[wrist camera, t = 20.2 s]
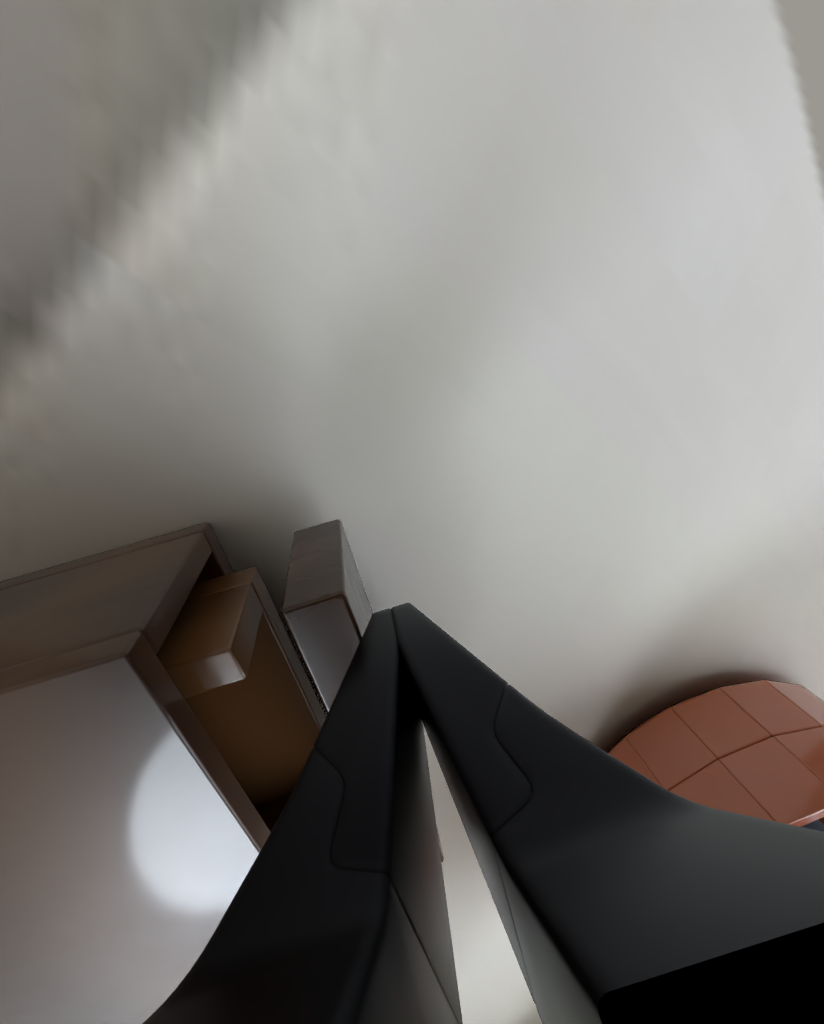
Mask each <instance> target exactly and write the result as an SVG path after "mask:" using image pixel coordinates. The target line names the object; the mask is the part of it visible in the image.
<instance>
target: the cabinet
mask: <svg viewBox="0 0 824 1024" xmlns="http://www.w3.org/2000/svg"><path fill="white" fill-rule="evenodd" d="M230 573H234V572H233V570H232V568H231V566H230V564H229V562H228V560H227V558H226V556H225V554H224V552H223V550H222V548H221V546H220V544H219V542H218V540H217V538H216V536H215V534H214V532H213V530H212V528H211V526H210V524H209V523H204V524H200V525H197V526H193V527H190V528H186V529H183V530H180V531H176V532H173V533H169V534H166V535H162V536H159V537H155V538H152V539H148V540H145V541H141V542H138V543H134V544H131V545H128V546H124V547H121V548H117V549H114V550H110V551H107V552H103V553H100V554H96V555H93V556H89V557H86V558H83V559H79V560H76V561H72V562H69V563H65V564H62V565H58V566H55V567H51V568H48V569H44V570H41V571H38V572H34V573H31V574H27V575H24V576H20V577H17V578H13V579H10V580H6V581H3V582H0V1024H142V1023H143V1022H145V1021H146V1020H147V1019H148V1018H149V1017H150V1016H151V1015H152V1014H153V1013H154V1012H155V1011H156V1010H157V1009H158V1008H159V1007H160V1006H161V1005H162V1004H163V1003H164V1002H165V1001H166V999H167V998H168V997H169V996H170V995H171V994H172V993H173V992H174V990H175V989H176V988H177V987H178V985H179V984H180V983H181V981H182V980H183V979H184V978H185V976H186V975H187V974H188V972H189V971H190V970H191V968H192V967H193V965H194V964H195V962H196V961H197V959H198V958H199V956H200V955H201V953H202V952H203V950H204V948H205V947H206V945H207V943H208V942H209V940H210V938H211V937H212V935H213V934H214V932H215V930H216V928H217V926H218V925H219V923H220V921H221V919H222V918H223V916H224V914H225V912H226V911H227V909H228V907H229V905H230V904H231V902H232V900H233V898H234V896H235V895H236V893H237V891H238V889H239V888H240V886H241V884H242V882H243V881H244V879H245V877H246V875H247V874H248V872H249V870H250V868H251V866H252V865H253V863H254V861H255V859H256V858H257V856H258V854H259V852H260V851H261V849H262V847H263V845H264V844H265V842H266V840H267V838H268V836H269V835H270V833H271V832H270V830H269V829H268V827H267V826H266V824H265V822H264V821H263V819H262V818H261V816H260V815H259V813H258V812H257V810H256V809H255V807H254V805H253V804H252V802H251V801H250V799H249V798H248V796H247V795H246V793H245V792H244V790H243V788H242V787H241V785H240V784H239V782H238V781H237V779H236V778H235V776H234V775H233V773H232V772H231V770H230V768H229V767H228V765H227V764H226V762H225V761H224V759H223V758H222V756H221V755H220V753H219V751H218V750H217V748H216V747H215V745H214V744H213V742H212V741H211V739H210V738H209V736H208V735H207V733H206V731H205V730H204V728H203V727H202V725H201V724H200V722H199V721H198V719H197V718H196V716H195V714H194V713H193V711H192V710H191V708H190V707H189V705H188V704H187V702H186V701H185V699H184V697H183V696H182V694H181V693H180V691H179V690H178V688H177V687H176V685H175V684H174V682H173V681H172V679H171V677H170V676H169V674H168V673H167V671H166V670H165V668H164V667H163V665H162V664H161V662H160V660H159V659H158V657H157V656H156V653H158V652H159V650H160V648H161V646H162V644H163V642H164V640H165V639H166V637H167V635H168V633H169V631H170V629H171V627H172V625H173V624H174V622H175V620H176V618H177V616H178V614H179V612H180V611H181V609H182V607H183V605H184V603H185V601H186V599H187V597H188V596H189V594H190V592H191V590H192V588H193V586H194V584H197V583H200V582H204V581H207V580H210V579H214V578H217V577H220V576H224V575H227V574H230Z"/></svg>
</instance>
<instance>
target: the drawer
mask: <svg viewBox="0 0 824 1024" xmlns="http://www.w3.org/2000/svg"><path fill="white" fill-rule="evenodd" d="M281 613H282V615H283V617H284V620H285V622H286V624H287V626H288V628H289V631H290V633H291V635H292V637H293V639H294V641H295V644H296V646H297V648H298V650H299V652H300V655H301V657H302V659H303V661H304V663H305V665H306V668H307V670H308V672H309V674H310V676H311V679H312V681H313V683H314V685H315V687H316V690H317V692H318V694H319V696H320V698H321V700H322V703H323V705H324V707H325V709H326V711H327V714H328V712H329V710H330V708H331V706H332V703H333V701H334V699H335V697H336V694H337V692H338V690H339V688H340V685H341V683H342V681H343V679H344V676H345V674H346V672H347V670H348V668H349V665H350V663H351V661H352V659H353V656H354V654H355V652H356V650H357V647H358V645H359V643H360V641H361V638H362V636H363V634H364V632H365V629H366V627H367V625H368V623H369V620H370V618H371V616H372V615H373V613H372V610H371V607H370V604H369V601H368V599H367V596H366V593H365V590H364V587H363V584H362V581H361V578H360V575H359V572H358V570H357V567H356V564H355V561H354V558H353V555H352V552H351V549H350V546H349V543H348V541H347V538H346V535H345V532H344V529H343V526H342V523H341V521H340V520H334V521H330V522H327V523H324V524H320V525H317V526H313V527H310V528H307V529H303V530H300V531H297V532H295V533H294V538H293V544H292V550H291V556H290V562H289V568H288V574H287V580H286V586H285V592H284V598H283V604H282V609H281ZM156 656H157V657H158V659H159V660H160V662H161V664H162V665H163V667H164V668H165V670H166V671H167V673H168V674H169V676H170V677H171V679H172V681H173V682H174V684H175V685H176V687H177V688H178V690H179V691H180V693H181V694H182V696H183V697H184V699H185V701H186V702H187V704H188V705H189V707H190V708H191V710H192V711H193V713H194V714H195V716H196V718H197V719H198V721H199V722H200V724H201V725H202V727H203V728H204V730H205V731H206V733H207V735H208V736H209V738H210V739H211V741H212V742H213V744H214V745H215V747H216V748H217V750H218V751H219V753H220V755H221V756H222V758H223V759H224V761H225V762H226V764H227V765H228V767H229V768H230V770H231V772H232V773H233V775H234V776H235V778H236V779H237V781H238V782H239V784H240V785H241V787H242V788H243V790H244V792H245V793H246V795H247V796H248V798H249V799H250V801H251V802H252V804H253V805H254V807H255V809H256V810H257V812H258V813H259V815H260V816H261V818H262V819H263V821H264V822H265V824H266V826H267V827H268V829H269V830H270V832H271V831H272V829H273V827H274V825H275V823H276V822H277V820H278V818H279V816H280V814H281V812H282V811H283V809H284V807H285V805H286V803H287V801H288V799H289V797H290V795H291V793H292V791H293V789H294V787H295V785H296V783H297V781H298V778H299V776H300V774H301V772H302V770H303V768H304V766H305V763H306V761H307V759H308V757H309V754H310V752H311V750H312V749H314V744H315V741H316V739H317V737H318V735H319V733H320V730H321V728H322V726H323V724H324V721H325V719H326V716H325V714H324V712H323V710H322V708H321V705H320V703H319V701H318V699H317V697H316V695H315V692H314V690H313V688H312V686H311V684H310V682H309V679H308V677H307V675H306V673H305V671H304V669H303V666H302V664H301V662H300V660H299V658H298V656H297V653H296V651H295V649H294V647H293V645H292V643H291V641H290V638H289V636H288V634H287V632H286V630H285V628H284V625H283V623H282V621H281V619H280V617H279V615H278V612H277V610H276V608H275V606H274V604H273V602H272V599H271V597H270V595H269V593H268V591H267V589H266V586H265V584H264V582H263V580H262V578H261V576H260V574H259V571H258V569H257V567H256V566H254V567H250V568H247V569H244V570H240V571H237V572H234V573H230V574H227V575H224V576H220V577H217V578H214V579H210V580H207V581H204V582H200V583H197V584H194V586H193V588H192V590H191V592H190V594H189V596H188V597H187V599H186V601H185V603H184V605H183V607H182V609H181V611H180V612H179V614H178V616H177V618H176V620H175V622H174V624H173V625H172V627H171V629H170V631H169V633H168V635H167V637H166V639H165V640H164V642H163V644H162V646H161V648H160V650H159V652H158V653H156ZM436 828H437V826H436ZM437 835H438V830H437ZM438 843H439V850H440V858H441V862H443V858H444V857H443V853H442V848H441V844H440V839H439V835H438Z"/></svg>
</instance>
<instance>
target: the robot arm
mask: <svg viewBox="0 0 824 1024" xmlns="http://www.w3.org/2000/svg"><path fill="white" fill-rule="evenodd" d="M422 722H423V723H422ZM423 724H424V727H425V729H426V732H427V734H428V737H429V740H430V742H431V745H432V747H433V750H434V752H435V755H436V757H437V760H438V762H439V765H440V767H441V770H442V772H443V775H444V777H445V780H446V782H447V785H448V787H449V790H450V792H451V795H452V797H453V800H454V802H455V805H456V807H457V810H458V812H459V815H460V817H461V820H462V822H463V825H464V827H465V830H466V832H467V835H468V837H469V840H470V842H471V845H472V847H473V850H474V853H475V855H476V858H477V860H478V863H479V865H480V868H481V870H482V873H483V875H484V878H485V880H486V883H487V885H488V888H489V890H490V893H491V895H492V898H493V900H494V903H495V905H496V908H497V910H498V913H499V915H500V918H501V920H502V923H503V925H504V928H505V930H506V933H507V935H508V938H509V940H510V943H511V945H512V948H513V950H514V953H515V955H516V958H517V960H518V963H519V966H520V968H521V971H522V973H523V976H524V978H525V981H526V983H527V986H528V988H529V991H530V993H531V996H532V998H533V1001H534V1003H535V1004H536V1007H537V1011H538V1013H539V1016H540V1018H541V1021H542V1023H543V1024H824V832H822V831H818V830H813V829H808V828H803V827H799V826H794V825H789V824H785V823H780V822H775V821H770V820H766V819H761V818H756V817H751V816H747V815H742V814H737V813H732V812H728V811H723V810H718V809H714V808H710V807H707V806H704V805H701V804H698V803H695V802H692V801H690V800H688V799H685V798H683V797H681V796H678V795H676V794H674V793H672V792H670V791H669V790H667V789H665V788H663V787H661V786H659V785H658V784H656V783H654V782H653V781H651V780H649V779H648V778H646V777H645V776H643V775H642V774H640V773H638V772H637V771H635V770H634V769H632V768H630V767H629V766H627V765H626V764H624V763H623V762H621V761H619V760H618V759H616V758H615V757H613V756H611V755H610V754H608V753H607V752H605V751H604V750H602V749H600V748H599V747H597V746H596V745H594V744H592V743H591V742H589V741H588V740H586V739H585V738H583V737H581V736H580V735H578V734H577V733H575V732H574V731H572V730H571V729H569V728H568V727H566V726H565V725H563V724H562V723H560V722H559V721H557V720H556V719H554V718H553V717H551V716H550V715H548V714H547V713H545V712H544V711H543V710H541V709H540V708H539V707H537V706H536V705H535V704H533V703H532V702H531V701H530V700H528V699H527V698H526V697H524V696H523V695H522V694H521V693H519V692H518V691H517V690H516V689H515V688H513V687H512V686H511V685H508V684H507V682H506V681H505V680H503V679H502V678H501V677H500V676H498V675H497V674H496V673H495V672H494V671H492V670H491V669H490V668H489V667H487V666H486V665H485V664H484V663H483V662H481V661H480V660H479V659H478V658H476V657H475V656H474V655H473V654H471V653H470V652H469V651H468V650H467V649H465V648H464V647H463V646H462V645H460V644H459V643H458V642H457V641H456V640H454V639H453V638H452V637H451V636H449V635H448V634H447V633H446V632H445V631H443V630H442V629H441V628H440V627H438V626H437V625H436V624H435V623H434V622H432V621H431V620H430V619H429V618H427V617H426V616H425V615H424V614H423V613H421V612H420V611H419V610H418V609H416V608H415V607H414V606H413V605H411V604H410V603H405V604H402V605H399V606H396V607H393V608H392V609H386V610H383V611H379V612H376V613H374V614H373V615H372V616H371V618H370V620H369V623H368V625H367V627H366V629H365V632H364V634H363V636H362V638H361V641H360V643H359V645H358V647H357V650H356V652H355V654H354V656H353V659H352V661H351V663H350V665H349V668H348V670H347V672H346V674H345V676H344V679H343V681H342V683H341V685H340V688H339V690H338V692H337V694H336V697H335V699H334V701H333V703H332V706H331V708H330V710H329V712H328V715H327V717H326V719H325V721H324V724H323V726H322V728H321V730H320V733H319V735H318V737H317V739H316V741H315V744H314V749H312V750H311V752H310V754H309V757H308V759H307V761H306V763H305V766H304V768H303V770H302V772H301V774H300V776H299V778H298V781H297V783H296V785H295V787H294V789H293V791H292V793H291V795H290V797H289V799H288V801H287V803H286V805H285V807H284V809H283V811H282V812H281V814H280V816H279V818H278V820H277V822H276V823H275V825H274V827H273V829H272V831H271V833H270V835H269V836H268V838H267V840H266V842H265V844H264V845H263V847H262V849H261V851H260V852H259V854H258V856H257V858H256V859H255V861H254V863H253V865H252V866H251V868H250V870H249V872H248V874H247V875H246V877H245V879H244V881H243V882H242V884H241V886H240V888H239V889H238V891H237V893H236V895H235V896H234V898H233V900H232V902H231V904H230V905H229V907H228V909H227V911H226V912H225V914H224V916H223V918H222V919H221V921H220V923H219V925H218V926H217V928H216V930H215V932H214V934H213V935H212V937H211V938H210V940H209V942H208V943H207V945H206V947H205V948H204V950H203V952H202V953H201V955H200V956H199V958H198V959H197V961H196V962H195V964H194V965H193V967H192V968H191V970H190V971H189V972H188V974H187V975H186V976H185V978H184V979H183V980H182V981H181V983H180V984H179V985H178V987H177V988H176V989H175V990H174V992H173V993H172V994H171V995H170V996H169V997H168V998H167V999H166V1001H165V1002H164V1003H163V1004H162V1005H161V1006H160V1007H159V1008H158V1009H157V1010H156V1011H155V1012H154V1013H153V1014H152V1015H151V1016H150V1017H149V1018H148V1019H147V1020H146V1021H145V1022H143V1023H142V1024H463V1023H462V1015H461V1008H460V1000H459V993H458V985H457V978H456V970H455V963H454V955H453V948H452V940H451V933H450V925H449V918H448V910H447V903H446V895H445V888H444V880H443V873H442V865H441V858H440V850H439V843H438V835H437V828H436V820H435V813H434V805H433V798H432V790H431V783H430V775H429V768H428V760H427V752H426V745H425V737H424V730H423Z"/></svg>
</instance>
